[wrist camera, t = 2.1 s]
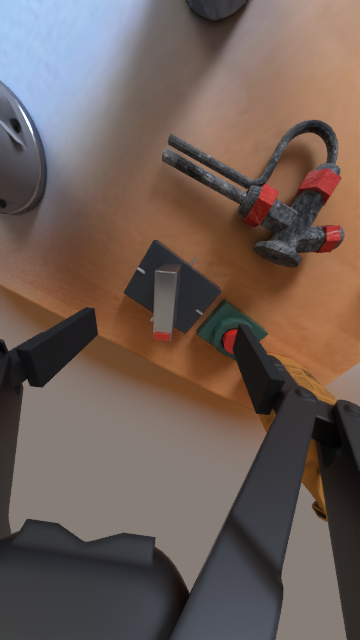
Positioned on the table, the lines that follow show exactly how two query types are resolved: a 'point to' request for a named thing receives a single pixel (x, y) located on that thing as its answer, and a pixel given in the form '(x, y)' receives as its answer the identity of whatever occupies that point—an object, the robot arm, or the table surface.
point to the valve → (260, 201)
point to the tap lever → (166, 301)
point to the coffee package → (311, 466)
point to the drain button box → (226, 326)
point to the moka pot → (215, 7)
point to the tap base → (192, 289)
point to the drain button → (229, 340)
